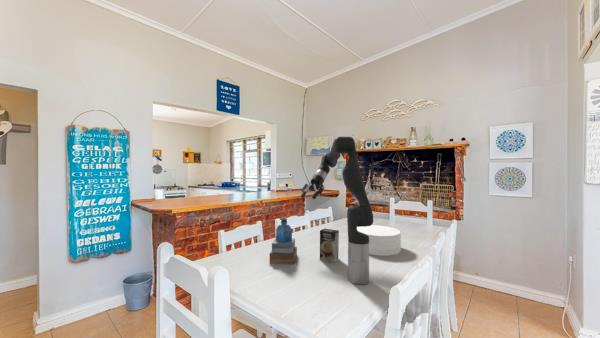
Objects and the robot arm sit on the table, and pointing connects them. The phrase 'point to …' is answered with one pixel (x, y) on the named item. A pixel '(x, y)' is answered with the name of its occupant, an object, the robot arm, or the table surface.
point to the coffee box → (329, 245)
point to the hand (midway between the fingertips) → (307, 197)
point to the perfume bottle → (283, 232)
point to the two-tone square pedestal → (283, 252)
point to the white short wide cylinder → (382, 239)
